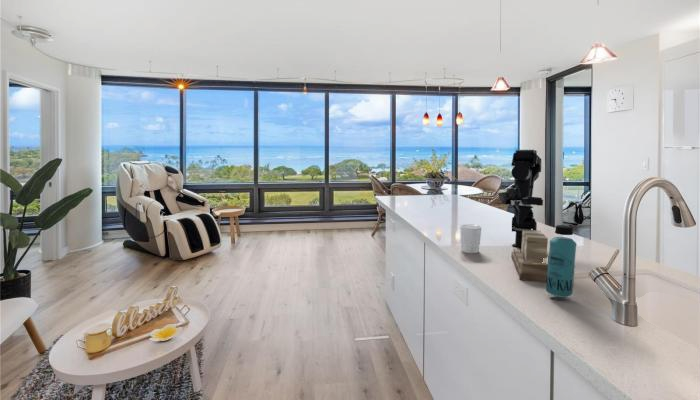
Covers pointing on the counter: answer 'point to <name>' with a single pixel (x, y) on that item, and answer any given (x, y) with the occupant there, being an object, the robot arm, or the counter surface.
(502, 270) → the counter surface
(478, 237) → the white cup
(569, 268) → the beverage bottle
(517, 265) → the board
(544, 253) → the tea box
